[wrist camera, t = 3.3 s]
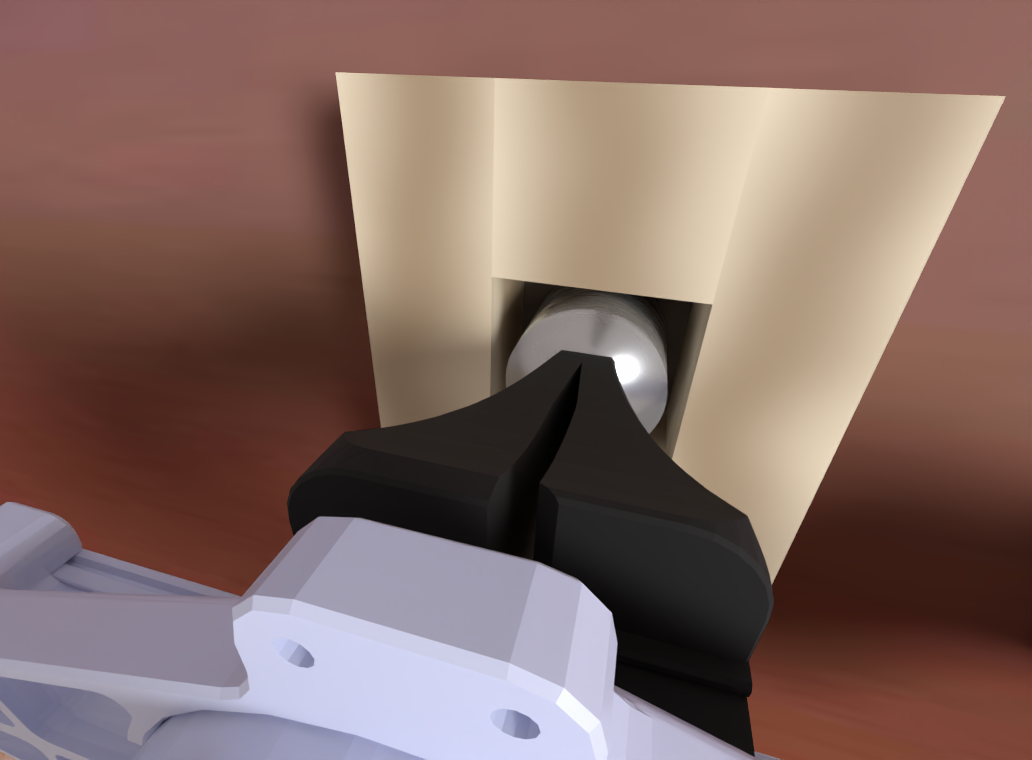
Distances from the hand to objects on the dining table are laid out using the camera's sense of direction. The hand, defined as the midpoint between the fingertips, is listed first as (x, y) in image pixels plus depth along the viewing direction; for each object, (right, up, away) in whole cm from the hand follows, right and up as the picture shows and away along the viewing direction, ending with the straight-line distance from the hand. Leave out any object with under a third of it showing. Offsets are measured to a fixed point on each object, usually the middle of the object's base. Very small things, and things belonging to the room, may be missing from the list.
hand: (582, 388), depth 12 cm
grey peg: (+1, +2, +3) cm, 3 cm away
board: (+1, -3, +6) cm, 7 cm away
